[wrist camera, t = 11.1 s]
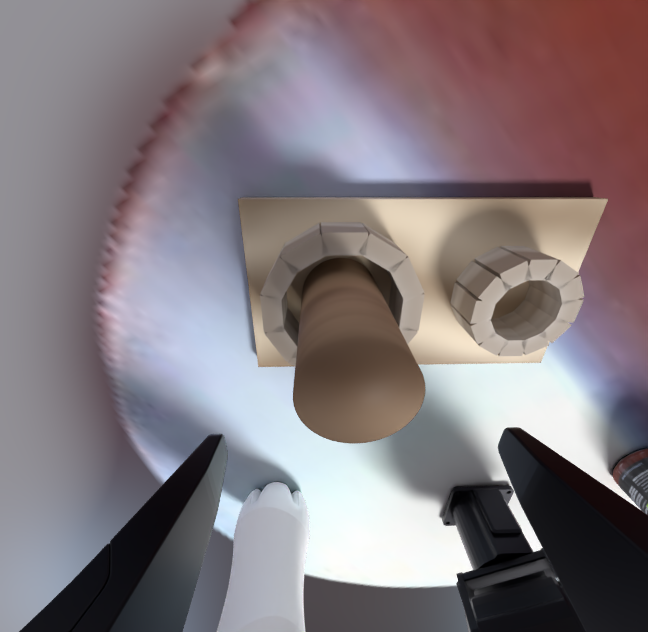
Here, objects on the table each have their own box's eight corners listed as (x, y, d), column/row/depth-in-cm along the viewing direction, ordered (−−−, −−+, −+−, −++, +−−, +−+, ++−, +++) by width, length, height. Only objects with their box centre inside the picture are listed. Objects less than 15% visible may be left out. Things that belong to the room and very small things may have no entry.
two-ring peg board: (532, 355, 24) (569, 388, 21) (260, 359, 24) (251, 394, 20) (594, 197, 19) (659, 205, 15) (241, 197, 18) (223, 206, 15)
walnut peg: (373, 325, 21) (415, 442, 12) (303, 326, 21) (295, 444, 12) (379, 257, 19) (436, 340, 10) (301, 258, 19) (289, 342, 10)
